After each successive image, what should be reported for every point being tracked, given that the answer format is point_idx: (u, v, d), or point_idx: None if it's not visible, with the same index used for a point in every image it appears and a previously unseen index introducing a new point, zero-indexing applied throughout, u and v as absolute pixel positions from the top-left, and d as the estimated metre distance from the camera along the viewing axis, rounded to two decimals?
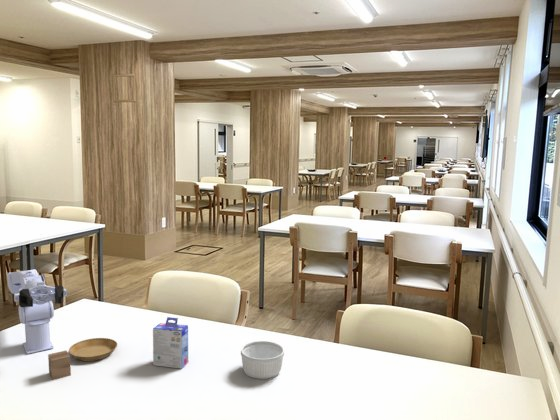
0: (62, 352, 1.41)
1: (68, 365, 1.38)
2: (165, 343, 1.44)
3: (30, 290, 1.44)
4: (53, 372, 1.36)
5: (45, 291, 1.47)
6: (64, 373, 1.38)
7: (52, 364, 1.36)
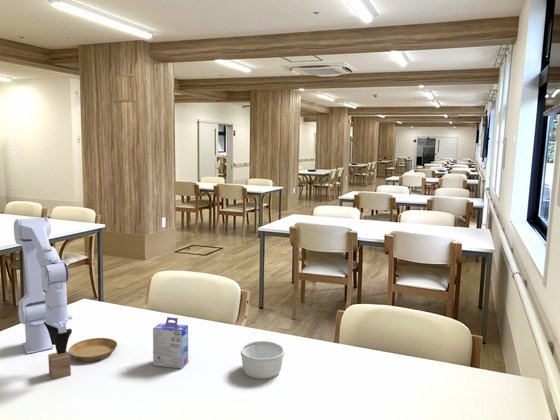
0: None
1: (68, 365, 1.38)
2: (165, 343, 1.44)
3: None
4: (53, 372, 1.36)
5: None
6: (64, 373, 1.38)
7: (52, 364, 1.36)
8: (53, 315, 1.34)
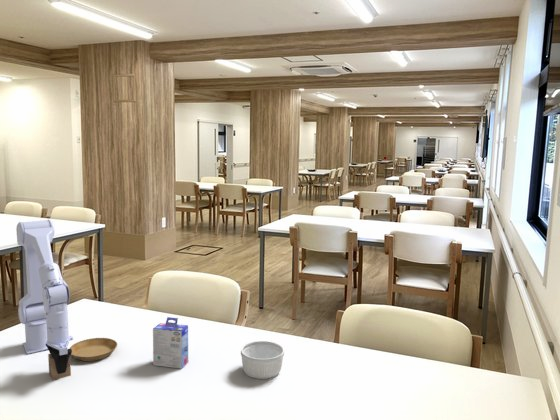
0: None
1: (68, 365, 1.38)
2: (165, 343, 1.44)
3: None
4: (53, 372, 1.36)
5: None
6: (64, 373, 1.38)
7: (52, 364, 1.36)
8: (54, 337, 1.35)
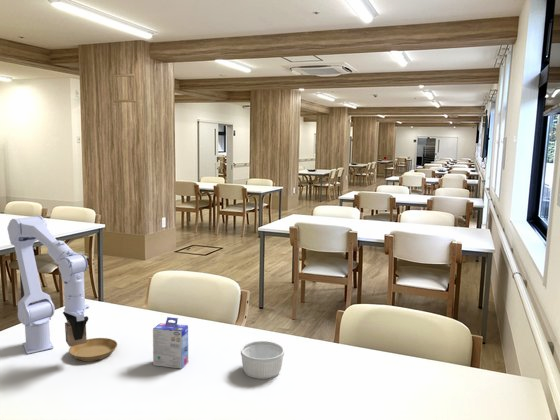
0: None
1: (84, 333, 1.44)
2: (165, 343, 1.44)
3: None
4: (70, 339, 1.42)
5: None
6: (80, 340, 1.44)
7: (69, 331, 1.42)
8: (72, 304, 1.41)
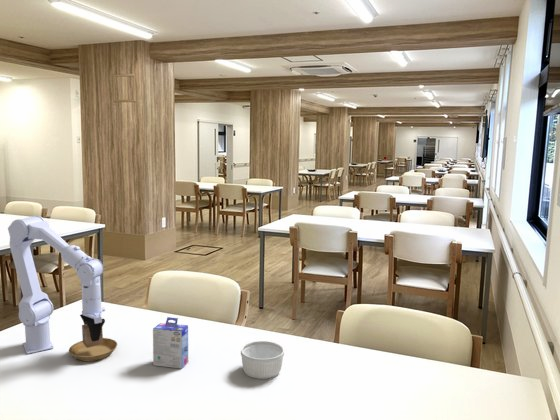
0: None
1: (100, 334, 1.52)
2: (165, 343, 1.44)
3: None
4: (87, 340, 1.50)
5: None
6: (97, 342, 1.52)
7: (86, 333, 1.49)
8: (89, 307, 1.49)
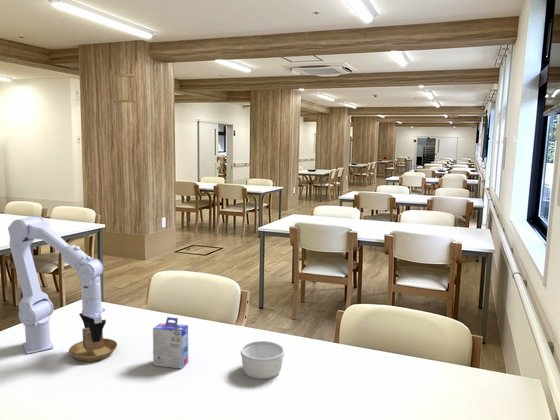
0: None
1: (101, 338, 1.52)
2: (165, 343, 1.44)
3: None
4: (88, 344, 1.50)
5: None
6: (97, 346, 1.52)
7: (87, 337, 1.50)
8: (89, 307, 1.49)
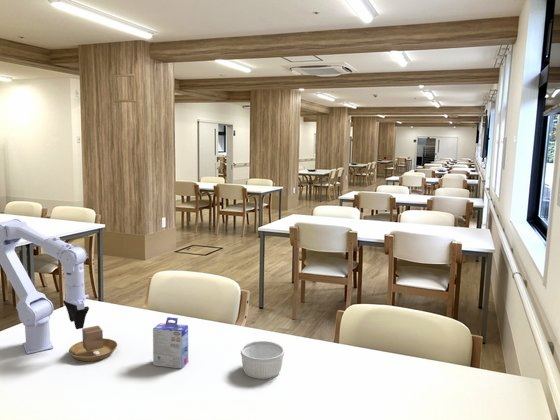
0: (94, 327, 1.55)
1: (101, 338, 1.52)
2: (165, 343, 1.44)
3: None
4: (88, 344, 1.50)
5: None
6: (97, 346, 1.52)
7: (87, 337, 1.50)
8: (72, 294, 1.49)
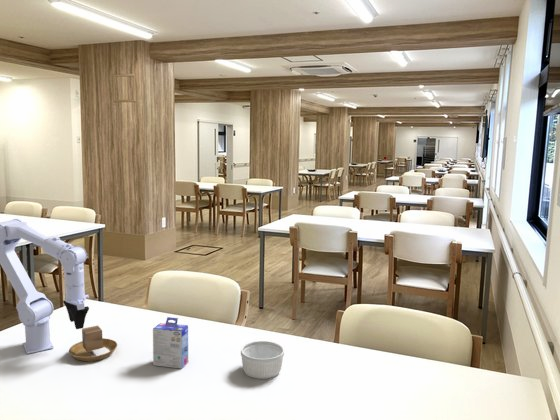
0: (94, 327, 1.55)
1: (100, 338, 1.52)
2: (165, 343, 1.44)
3: None
4: (87, 344, 1.50)
5: None
6: (96, 346, 1.52)
7: (86, 337, 1.50)
8: (72, 294, 1.49)
